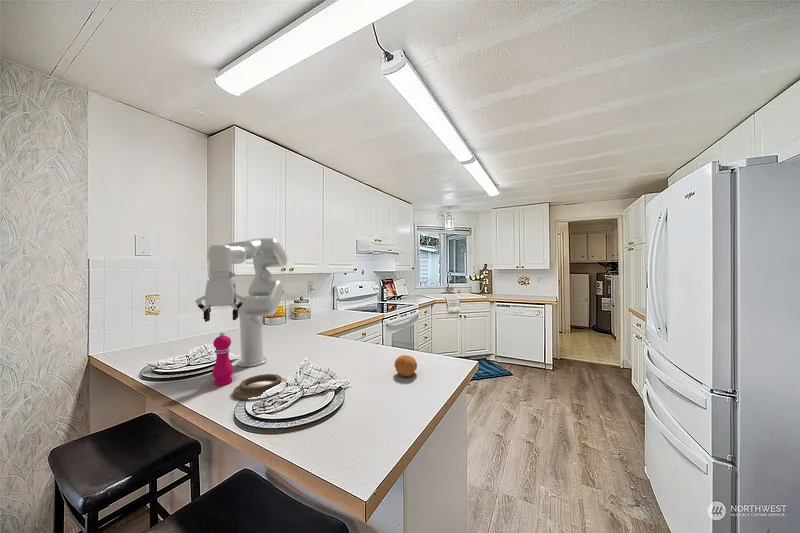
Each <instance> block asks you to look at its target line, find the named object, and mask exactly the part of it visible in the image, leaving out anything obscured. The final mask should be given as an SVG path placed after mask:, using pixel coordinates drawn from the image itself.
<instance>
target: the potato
mask: <svg viewBox="0 0 800 533" xmlns="http://www.w3.org/2000/svg"><path fill="white" fill-rule="evenodd" d="M417 367H418V363H417V361H416V359H415V357H413V356H411V355H403V354H402V355H400V356H398V357H396V359H395V361H394V368H395V370H396V373H397V374H398V375H400V376H402V377H411V376H413V375H414V373H415V371H416V370H417V369H418V368H417Z"/></svg>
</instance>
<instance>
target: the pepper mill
mask: <svg viewBox="0 0 800 533" xmlns="http://www.w3.org/2000/svg"><path fill="white" fill-rule="evenodd" d="M231 344H232V340H231V337H229V336H228V335H226V334H225V332H224V331H221V332H219V336H216V337H215V339H214V340H213V348H215V350H214V353H215V354H216V355H215V356H216V359H215V363H214V366H213V368H212V372H211V375H212V377H213V378H214V380H213V386H215V387H224V386H227V385H230V384H231V383H233V376H232V375H233V373H234V371H235V370H234V369H235V368H234V366H233V364H232V361H231V359H230V357H229V356H230V355H229V354H230V351H231V348H230V346H231Z"/></svg>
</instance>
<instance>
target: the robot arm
mask: <svg viewBox="0 0 800 533" xmlns="http://www.w3.org/2000/svg"><path fill="white" fill-rule="evenodd" d="M206 256H207V260H208V275H209V276H208V278H209V279H208V280H207V281H206V286H205V291H204V292H205V293H204V295H203V296H201V297H199V298H197V299H195V301H194V302H195V303H196V305H197V307H198V308H199V309H200V310H201V311H202V312H203V320H204V322H205V323H207V322H210V321H211V310H210V309H211V307H223V306H231V308H232V309H233V310H232V321H236V320H237V319H238V318H239V331H240V332H239V334H240V339H239V340H240V343H239V344H240V359H239V360H238V361H237V362H236V363H237V364H236V365H237V366H238V367H242V368H250V367H256V366H260V365H264V364H265V363H267V361H268V358H267V356H264V330H263V322H262V320H261V319H260V318H259V317H267V316H269V317H271V316H274V315H275V314H276V313H277V310H278V308H279V306H280V302H281V300H282V298H283V295H284V294H283V293H284V285H283V283H282V282H281V281H280V280H277V279H274V278H273V274H272V273H271V271H269V269H267V268H281V267H285V266H286V265H287V262H288V256H287V254H286V251H285V250H284V248H283V246H282V245H281V243H280V241H278V240H277V239H276V238H274V237H273V238H271V237H269V238H268V237H264V238H262V237H261V238H259V237H258V238H252V239H247V240H243V241H235V242H232V243H230V242H229V243H224V244H223V243H222V244H211V245H210V246H209V247H208V251H207V255H206ZM251 259H252V264H253V269H254V272H255V275H254V277H253V279H252V281H251V284H250V285H249V288H248V292H247V293H248V295H247V296H242V295H240V294H237V288H236V281H235V279H233V278H235V277H236V276H237V275H236V273H235V272H232V265H239V264H242V263H244V262H245V261H247V260H251ZM237 300H238V301H237ZM203 301H204V303H202V302H203ZM204 304H205V305H204Z"/></svg>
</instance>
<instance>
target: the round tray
mask: <svg viewBox="0 0 800 533" xmlns="http://www.w3.org/2000/svg"><path fill="white" fill-rule="evenodd" d="M285 380H287V379H286V378H283V377H282V376H281V375H279V374H276V373H266V374H265V373H264V374H257V375H254V376H251V377H248V378H245V379H244V380H242V381H241V382H240V384H239V385H237V386H236V387H235V388H233V392H232V393H233V395H232V396H233V397H234V398H235V399H237V400H241V399H248V398H252V397H258V396H261V394H263V392H265V391H266V390H268V389H270V388H272V387H274V386H276V385H278V384H280V383H282V382H284V381H285ZM241 401H242V400H241Z"/></svg>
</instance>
